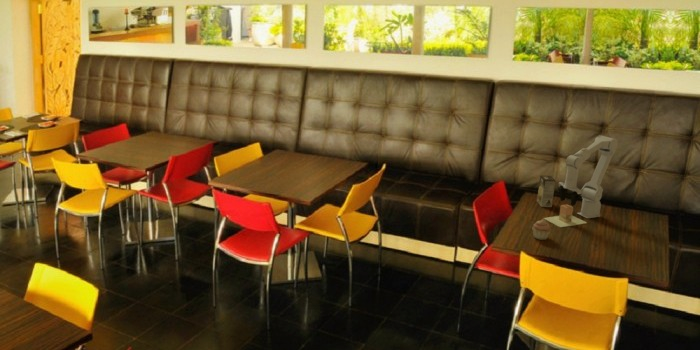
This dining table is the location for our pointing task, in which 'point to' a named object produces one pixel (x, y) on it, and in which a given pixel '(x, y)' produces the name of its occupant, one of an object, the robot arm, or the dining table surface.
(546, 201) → the coffee box
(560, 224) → the pale green rectangular panel
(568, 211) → the terracotta block
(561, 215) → the birch block
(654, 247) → the dining table surface
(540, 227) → the cupcake
